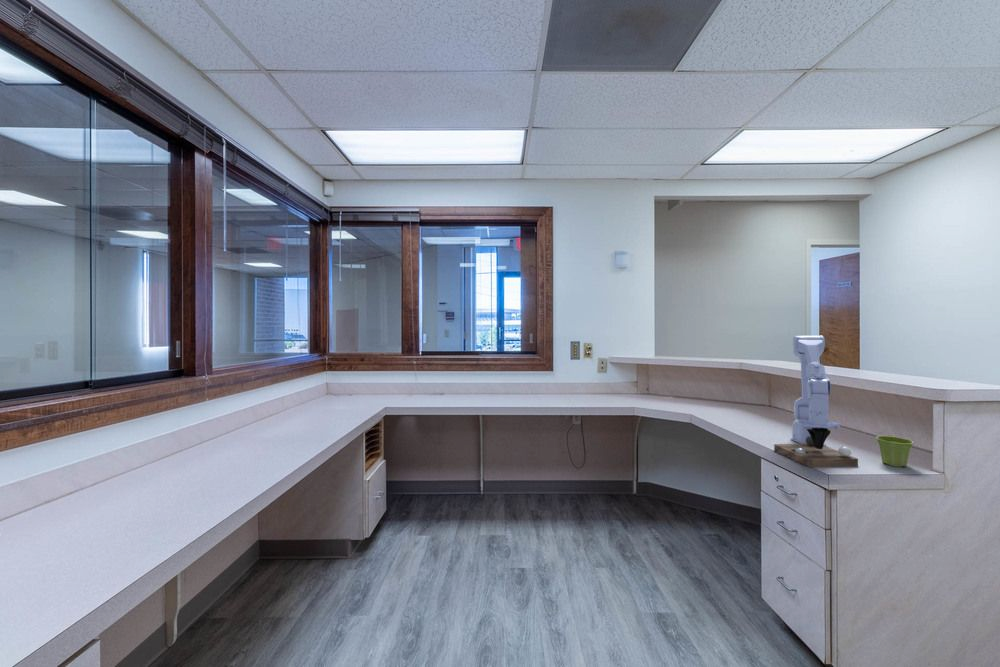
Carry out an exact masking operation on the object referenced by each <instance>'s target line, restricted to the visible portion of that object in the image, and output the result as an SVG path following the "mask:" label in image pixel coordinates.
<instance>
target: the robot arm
mask: <svg viewBox="0 0 1000 667" xmlns="http://www.w3.org/2000/svg"><path fill="white" fill-rule="evenodd" d="M792 342H793V344H792V346H793V353H794V356H795V357H798V358H799V359H798V360H799V361H800V378H801V380H800V381H801V397H799V398H797V399H796V400H794V403H793V417H794V419H795V420H793V422H792V425H791V426H792V427H791V428H792V429H791V430H792V432H791V433H792V434H791V435H792V437H790V438H789V439H790V440H791V441H794V442H795V443H797V444H802V443H806V438H807V437H808V436H811V438H812V440H813V443H814V447H815V448H817V449H822V448H823V445H824V446H827V445H826V443H825V441H826V440H827V438H828V437H829V435H830V434H831V430H830V429H837V430H841V423H839V422H833V421H832V422H829V396H830V394H831V392H832V384H831V381H830V379H829V377H827V375H826V374H827V373H826V368H825V366H824V365H823V364H822V363H820V360H821V359H820V357H821V356H822V354H823V353H824V350H825V347H826V338H825V337H824V335H821V334H820V335H795V336H793V341H792Z"/></svg>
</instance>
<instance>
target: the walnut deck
mask: <svg viewBox="0 0 1000 667" xmlns="http://www.w3.org/2000/svg"><path fill="white" fill-rule="evenodd" d="M773 446H774V447H773V448H774V449H773V451H774V450H775V451H774V452H776V451H777V453H778V452H779V454H781V453H782V454H781V455H783V454H784V455H783V456H785V455H786V456H785V457H787V456H788V457H787V458H789V457H790V458H789V459H791V460H793V461H795V462H797V463H799V464H802V465H804V466H806V467H808V468H823V467H827V468H829V467H832V468H833V467H857V466H859V459H858V458H857V457H854V456H851V455H850V456H848V457H844V456H841V455H840V454H839V452H838V449H837V450H836V449H834V448H832V447H828V446H827V445H823V448H822V449H817V448H815V447H814V445H813V446H811V445H808V444H807V443H802V444H801V443H775V444H773ZM797 448H802V449H804V450H805V451H806V453H796V452H795V450H796V449H797Z"/></svg>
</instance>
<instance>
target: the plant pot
mask: <svg viewBox="0 0 1000 667" xmlns="http://www.w3.org/2000/svg"><path fill="white" fill-rule="evenodd" d="M875 438H876V440H877V442H878V445H879V449H880V456H881V461H882V463H883V464H887V465H888V466H891V467H907V466H908V461H909V455H910V451H911V448H912V446H913V445H914V441H913V440H911V439H907V438H904V437H898V436H892V435H891V436H890V435H878V436H876V437H875Z"/></svg>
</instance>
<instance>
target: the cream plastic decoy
mask: <svg viewBox="0 0 1000 667" xmlns="http://www.w3.org/2000/svg"><path fill="white" fill-rule="evenodd" d="M837 451H838V452H839V454H840V455H841V456H844V457H848V456H851V455H852V451H851V448H850V447H848V446H839V448H838V449H837Z"/></svg>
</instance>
